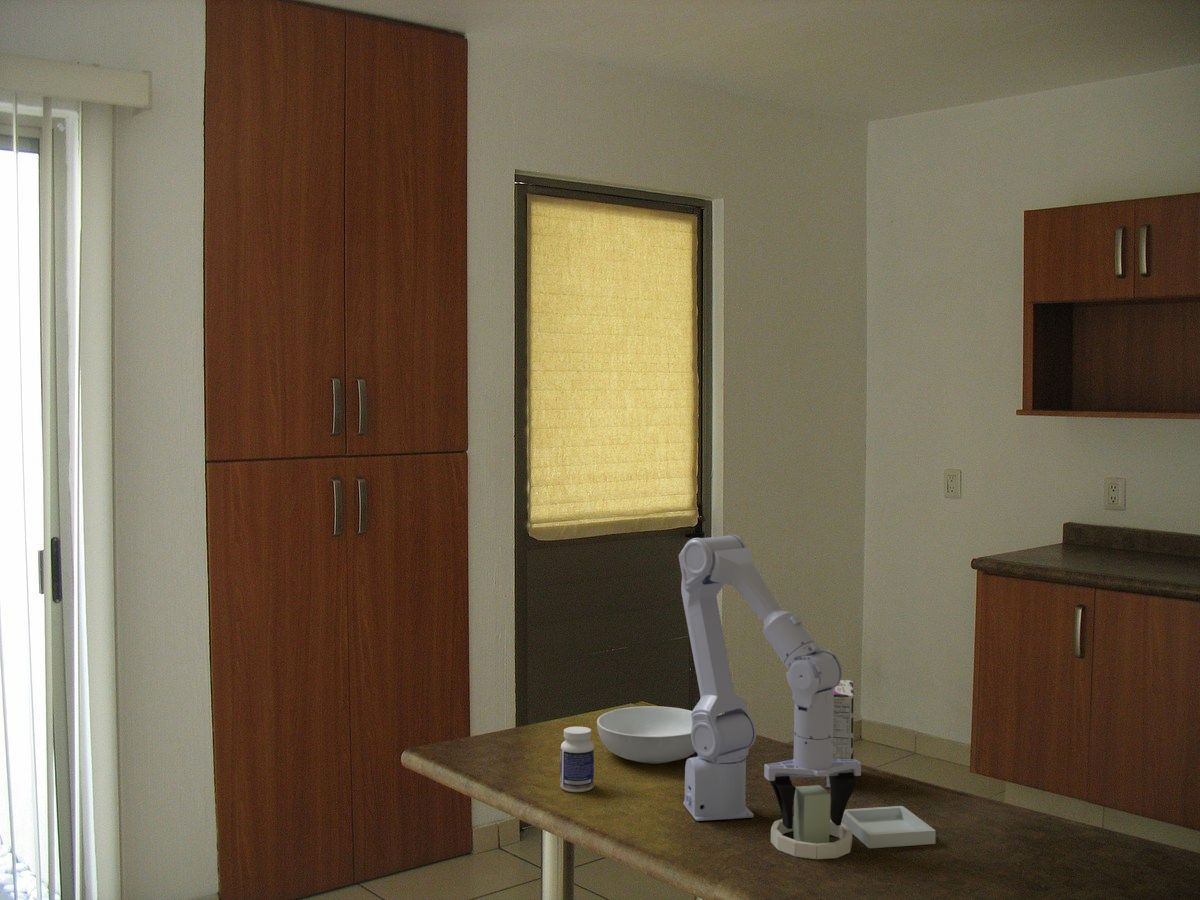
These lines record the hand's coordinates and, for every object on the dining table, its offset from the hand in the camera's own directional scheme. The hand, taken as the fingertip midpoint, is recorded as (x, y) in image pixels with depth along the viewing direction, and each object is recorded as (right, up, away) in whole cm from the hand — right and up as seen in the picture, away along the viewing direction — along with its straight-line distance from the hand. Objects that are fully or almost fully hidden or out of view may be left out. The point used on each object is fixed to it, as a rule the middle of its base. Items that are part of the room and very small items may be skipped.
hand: (811, 824), depth 166 cm
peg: (0, -3, 0) cm, 3 cm away
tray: (+12, -3, +5) cm, 13 cm away
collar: (0, -3, 0) cm, 3 cm away
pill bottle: (-35, -2, +24) cm, 43 cm away
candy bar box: (+10, -2, +30) cm, 32 cm away
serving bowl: (-22, -2, +42) cm, 47 cm away
